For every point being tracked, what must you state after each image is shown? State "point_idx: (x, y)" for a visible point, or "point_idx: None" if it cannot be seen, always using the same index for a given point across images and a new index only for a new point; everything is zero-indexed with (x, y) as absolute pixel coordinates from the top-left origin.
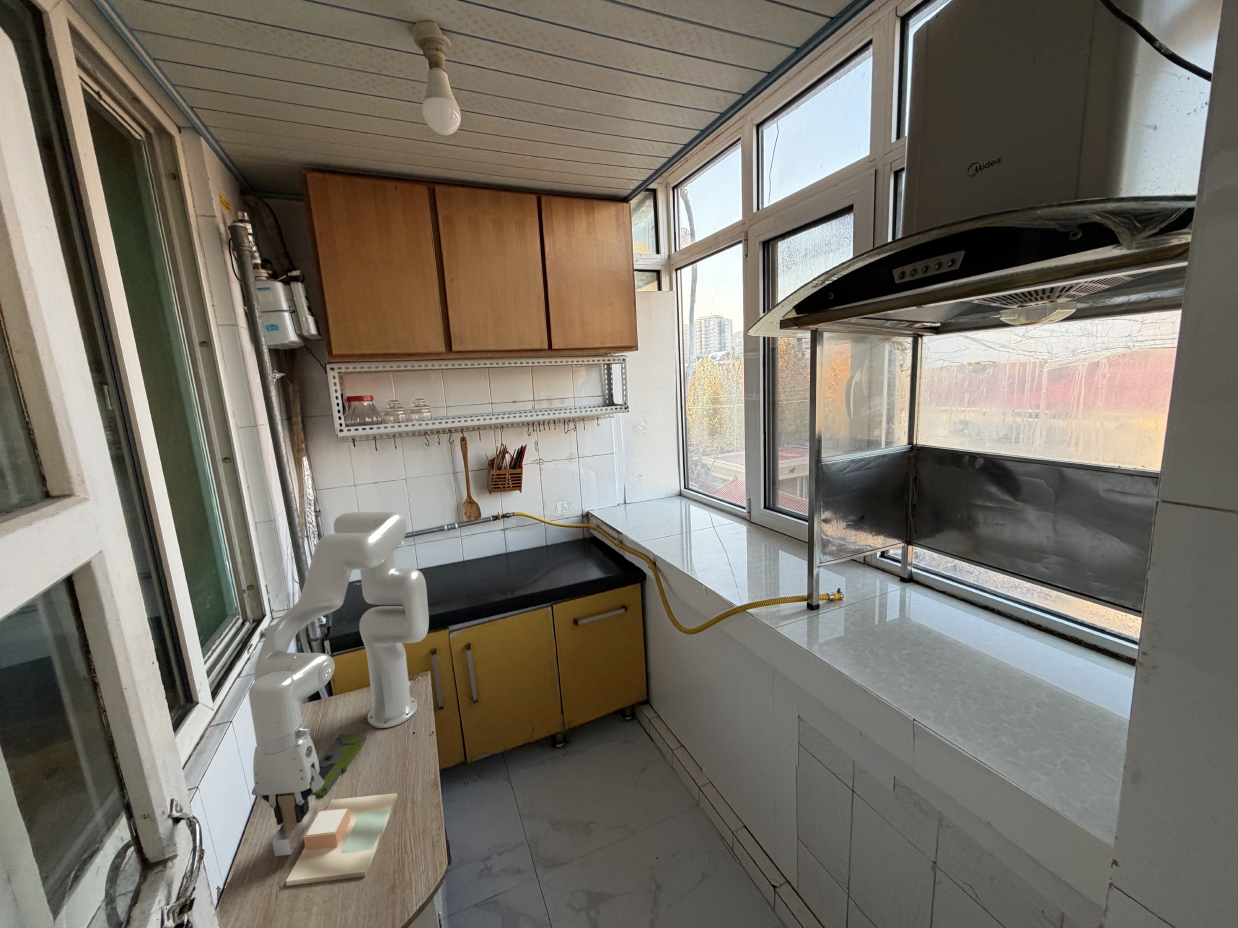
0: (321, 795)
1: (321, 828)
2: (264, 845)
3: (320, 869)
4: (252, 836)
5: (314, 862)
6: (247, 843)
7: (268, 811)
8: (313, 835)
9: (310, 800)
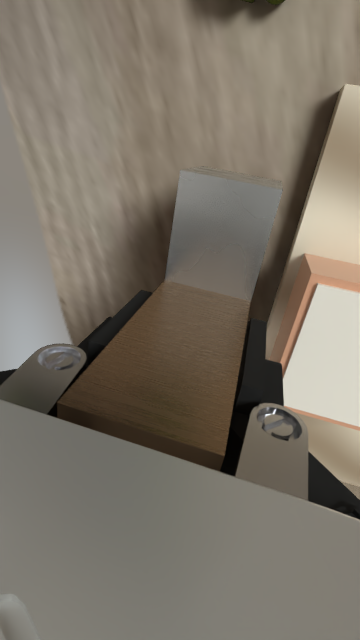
0: (272, 2)
1: (342, 397)
2: (106, 260)
3: (332, 454)
4: (42, 199)
5: (308, 426)
6: (43, 229)
7: (32, 55)
8: (307, 412)
9: (261, 233)
